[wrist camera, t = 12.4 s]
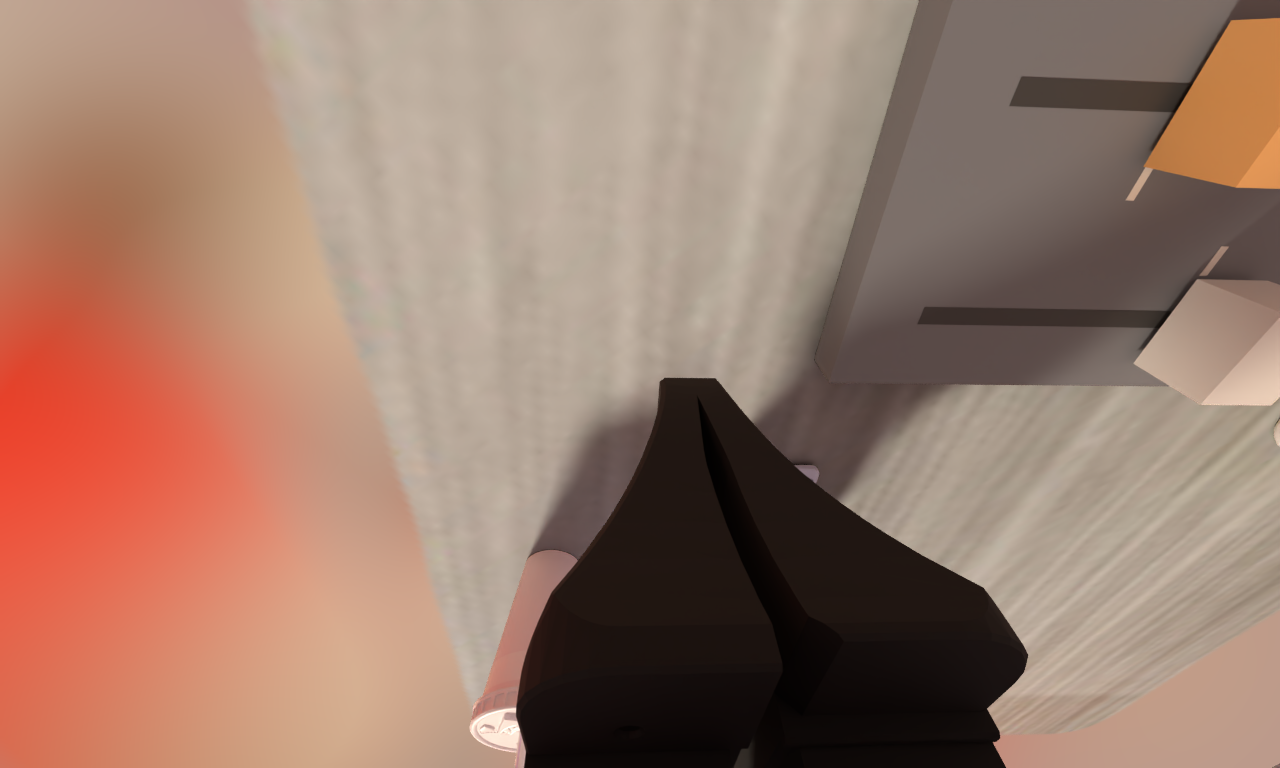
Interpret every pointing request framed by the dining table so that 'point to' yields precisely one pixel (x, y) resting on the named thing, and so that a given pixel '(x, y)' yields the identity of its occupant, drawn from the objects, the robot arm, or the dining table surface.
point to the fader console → (1038, 198)
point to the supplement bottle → (1277, 433)
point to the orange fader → (1230, 113)
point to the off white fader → (1220, 344)
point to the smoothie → (516, 654)
